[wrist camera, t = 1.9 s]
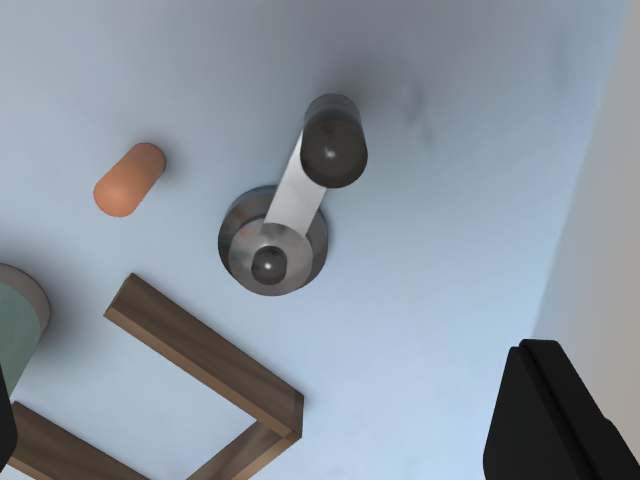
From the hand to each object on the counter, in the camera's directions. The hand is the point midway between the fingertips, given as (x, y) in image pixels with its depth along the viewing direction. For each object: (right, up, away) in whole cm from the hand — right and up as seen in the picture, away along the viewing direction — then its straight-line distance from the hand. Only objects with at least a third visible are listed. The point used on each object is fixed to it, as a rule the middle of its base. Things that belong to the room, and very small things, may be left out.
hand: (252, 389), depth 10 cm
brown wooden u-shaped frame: (-10, -8, +27) cm, 30 cm away
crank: (0, +5, +19) cm, 19 cm away
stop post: (-8, +7, +20) cm, 22 cm away
